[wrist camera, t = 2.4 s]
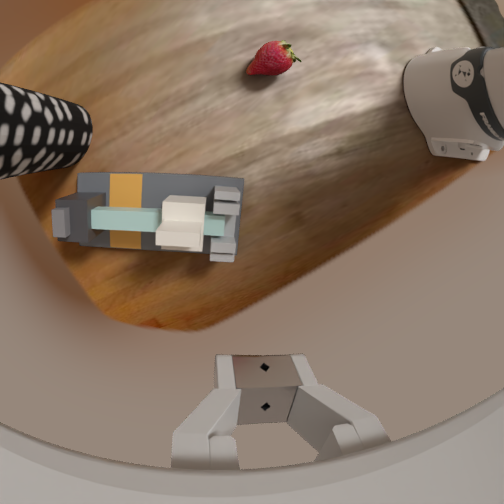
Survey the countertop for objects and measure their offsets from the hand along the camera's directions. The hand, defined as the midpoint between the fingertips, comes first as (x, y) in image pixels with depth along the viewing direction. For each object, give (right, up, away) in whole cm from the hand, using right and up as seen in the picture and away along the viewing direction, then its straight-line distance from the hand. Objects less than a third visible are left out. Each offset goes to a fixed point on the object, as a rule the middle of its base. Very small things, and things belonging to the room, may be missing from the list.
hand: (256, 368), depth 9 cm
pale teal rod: (-11, +8, +19) cm, 23 cm away
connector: (-19, +9, +21) cm, 30 cm away
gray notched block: (-4, +8, +24) cm, 25 cm away
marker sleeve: (-7, +8, +21) cm, 24 cm away
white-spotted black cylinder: (-23, +18, +18) cm, 35 cm away
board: (-11, +9, +23) cm, 27 cm away
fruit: (+2, +26, +19) cm, 32 cm away
